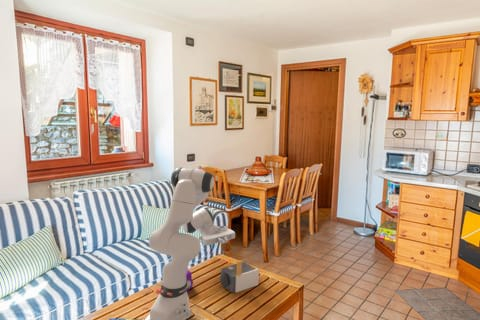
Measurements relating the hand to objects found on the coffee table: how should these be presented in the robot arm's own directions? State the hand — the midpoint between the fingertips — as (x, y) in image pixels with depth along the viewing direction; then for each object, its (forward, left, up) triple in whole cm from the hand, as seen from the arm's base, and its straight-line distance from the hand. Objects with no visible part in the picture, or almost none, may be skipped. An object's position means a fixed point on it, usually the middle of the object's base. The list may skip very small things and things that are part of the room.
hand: (225, 241), depth 181 cm
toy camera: (-18, +17, -23) cm, 34 cm away
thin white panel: (-2, -14, -23) cm, 27 cm away
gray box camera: (0, -8, -23) cm, 24 cm away
